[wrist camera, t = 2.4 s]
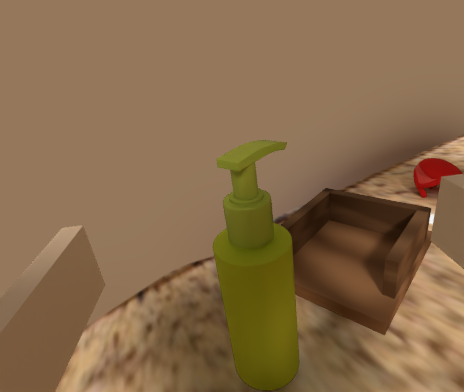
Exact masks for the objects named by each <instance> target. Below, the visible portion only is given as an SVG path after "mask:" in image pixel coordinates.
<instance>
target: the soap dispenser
mask: <svg viewBox="0 0 464 392" xmlns="http://www.w3.org/2000/svg"><path fill="white" fill-rule="evenodd" d="M286 145H287V143H286V142H276V141H266V140H259V141H252V142H249V143H246V144H243V145H241V146H239V147H237V148H235V149H233V150H231V151H229V152H228V153H226V154H224V155H222V156H221V157H219V158H217V165H218V167H219V168H224V169H229V170H230V171H231V178H232V185H233V192H231V193H230V194H228V195H227V196H226V197H225V198H224V200H223V207H224V213H225V219H226V226H227V229H225V230H223V231H222V232H221V233H220V234H219V235H218V236H217V237H216V238H215V240H214V243H213V250H214V256H215V261H216V267H217V272H218V277H219V282H220V288H221V293H222V298H223V303H224V309H225V314H226V319H227V324H228V330H229V335H230V340H231V345H232V351H233V356H234V361H235V366H236V370H237V372H238V374H239V376H240V377H241V379H242V380H243V381H244V382H245V383H246V384H248V385H249V386H251V387H253V388H256V389H259V390H275V389H279V388H281V387H283V386H285V385H287V384H288V383H289V382H290V381H291V380H292V379H293V378H294V376H295V375H296V373H297V371H298V367H299V349H298V333H297V316H296V299H295V282H294V265H293V248H292V237H291V235H290V233H289V232H288V230H287V229H285V228H284V227H282V226H281V225H278V224H276V223H273V215H272V203H271V196H270V194H269V193H268V192H266V191H264V190H261V189H259V188H258V186H257V177H256V167H255V162H256V161H257V160H259V159H261V158H262V157H264V156H266V155H267V154H269V153H272V152H274V151H278V150H284V149H285V147H286Z"/></svg>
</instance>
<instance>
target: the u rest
mask: <svg viewBox="0 0 464 392" xmlns="http://www.w3.org/2000/svg"><path fill="white" fill-rule="evenodd" d="M430 212H431V208H428V207H423V206H417V205H412V204H407V203H402V202H396V201H391V200H386V199H380V198H375V197H370V196H365V195H359V194H354V193H349V192H344V191H338V190H333V189H328V188H326V189H324V190H323V191H322V192H321V193H319V194H318V195H317V196H316V197H315V198H313V199H312V200H311V201H310V202H308V203H307V204H306V205H305V206H303V207H302V208H301V209H300V210H298V211H297V212H296V213H295V214H294V215H292V216H291V217H290V218H289V219H287V220H286V221H285V222H284V223H283V224H281V226H282V227H284V228H285V229H287V230H288V232H289V233H290V235H291V237H292V248H293V265H294V282H295V294H296V295H298V296H300V297H302V298H304V299H307V300H309V301H311V302H313V303H315V304H318V305H320V306H322V307H324V308H326V309H328V310H331V311H333V312H335V313H337V314H339V315H342V316H344V317H346V318H348V319H350V320H353V321H355V322H357V323H359V324H361V325H363V326H366V327H368V328H370V329H372V330H374V331H377V332H379V333H381V334H383V335H385V333H386V331H387V329H388V327H389V325H390V323H391V321H392V319H393V317H394V315H395V313H396V311H397V309H398V307H399V305H400V303H401V301H402V300H403V298H404V296H405V294H406V292H407V290H408V288H409V286H410V284H411V282H412V280H413V278H414V276H415V274H416V272H417V270H418V268H419V266H420V264H421V262H422V260H423V258H424V256H425V254H426V252H427V250H428V248H429V246H430V244H431V241H430V240H431V234H432V231H428V225H429V218H430Z"/></svg>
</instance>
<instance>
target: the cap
mask: <svg viewBox="0 0 464 392" xmlns="http://www.w3.org/2000/svg"><path fill="white" fill-rule="evenodd" d="M458 174H462V172H461V171H460V170H459V169H458V168H457V167H456V166H454V165H453V164H451V163H449V162H447V161H445V160H442V159H437V158H427V159H424V160H422V161H421V162H420V163H419V164H418V165H417V166H416V168H415V169H414V182H415V185H416V187H417V189H418V191H419V193H420V195H421V197H423V198H425V197H426V196H427V194H426V192H425V190H424V188H432V187H436V186H437V185H438V184H440V182H441V177H443V176H451V175H458Z"/></svg>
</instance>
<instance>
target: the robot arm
mask: <svg viewBox="0 0 464 392" xmlns="http://www.w3.org/2000/svg"><path fill="white" fill-rule="evenodd" d="M430 241H431V242H433V243H434V244H435V245H436V246H437V247H438V248H440V249H441V250H442V251H443V252H444V253H445V254H447V255H448V256H449V257H450V258H451V259H453V260H454V261H455V262H456V263H457V264H458V265H460V266H461V267H462V268H463V269H464V175H463V174H458V175H451V176H443V177H441V182H440V188H439V193H438V199H437V205H436V211H435V217H434V222H433V228H432V234H431V240H430ZM104 286H105V283H104V280H103V277H102V275H101V272H100V269H99V267H98V264H97V261H96V259H95V256H94V253H93V251H92V248H91V245H90V243H89V240H88V237H87V235H86V232H85V229H84V227H83V225H81V226H74V227H67V228H62V229H61V230H60V231H59V232H58V233H57V235H56V236H55V237H54V238H53V239H52V240H51V242H50V243H49V244H48V245H47V246H46V247H45V248H44V249H43V251H42V252H41V253H40V254H39V255H38V256H37V257H36V259H35V260H34V261H33V262H32V263H31V264H30V265H29V267H28V268H27V269H26V270H25V271H24V272H23V273H22V275H21V276H20V277H19V278H18V279H17V280H16V281H15V283H14V284H13V285H12V286H11V287H10V288H9V289H8V291H7V292H6V293H5V294H4V295H3V297H1V299H0V392H55V390H56V388H57V386H58V384H59V382H60V380H61V378H62V376H63V373H64V371H65V369H66V367H67V365H68V363H69V361H70V359H71V356H72V354H73V352H74V350H75V348H76V346H77V344H78V342H79V339H80V337H81V335H82V333H83V331H84V329H85V327H86V325H87V322H88V320H89V318H90V316H91V314H92V312H93V310H94V308H95V305H96V303H97V301H98V299H99V297H100V295H101V293H102V291H103V288H104Z"/></svg>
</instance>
